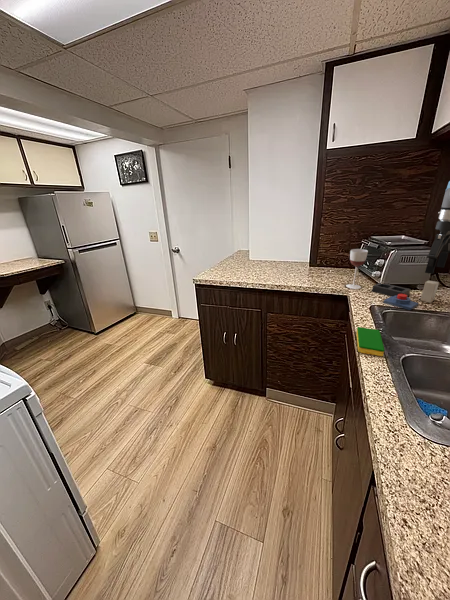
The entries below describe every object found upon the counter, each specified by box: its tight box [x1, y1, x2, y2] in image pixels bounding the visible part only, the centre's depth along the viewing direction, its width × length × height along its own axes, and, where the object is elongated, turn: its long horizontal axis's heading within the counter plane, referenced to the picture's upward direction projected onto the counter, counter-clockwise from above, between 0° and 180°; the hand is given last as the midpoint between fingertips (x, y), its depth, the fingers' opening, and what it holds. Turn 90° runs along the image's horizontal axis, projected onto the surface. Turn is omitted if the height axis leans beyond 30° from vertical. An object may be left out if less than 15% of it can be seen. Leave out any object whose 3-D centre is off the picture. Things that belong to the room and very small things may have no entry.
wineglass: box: [345, 248, 369, 290], centre depth 133 cm, size 8×9×20 cm
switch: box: [397, 294, 408, 300], centre depth 112 cm, size 4×4×2 cm
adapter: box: [371, 282, 411, 297], centre depth 125 cm, size 14×8×3 cm, turn 35°
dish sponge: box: [356, 326, 385, 357], centre depth 85 cm, size 7×14×2 cm, turn 156°
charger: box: [419, 279, 440, 304], centre depth 114 cm, size 4×4×9 cm
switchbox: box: [382, 295, 419, 311], centre depth 113 cm, size 11×8×3 cm
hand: (434, 270), depth 110 cm, fingers open, 13 cm apart
